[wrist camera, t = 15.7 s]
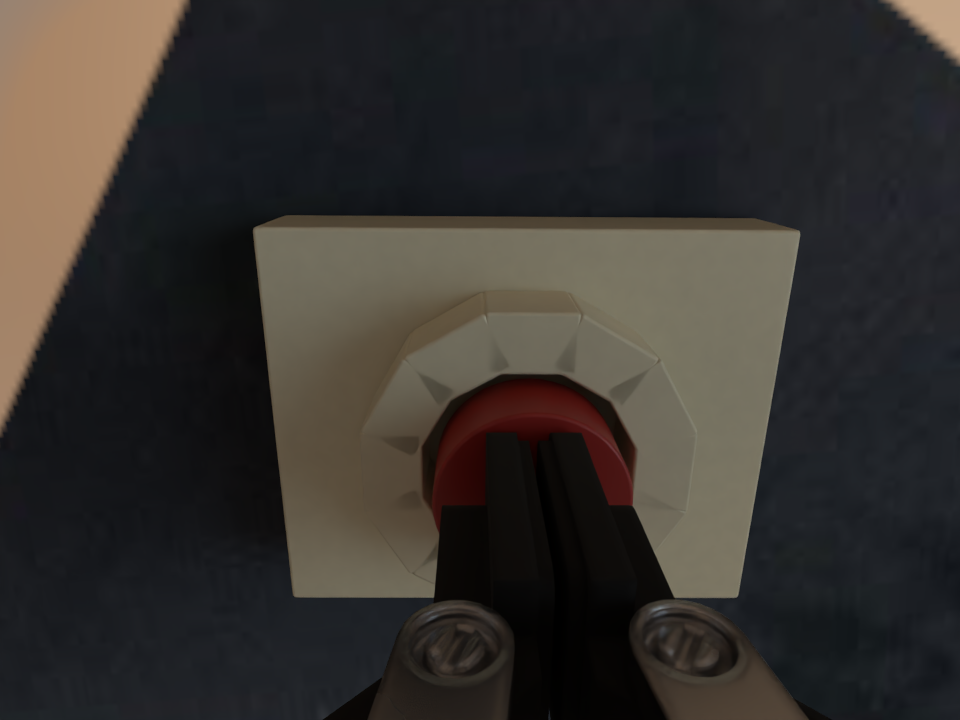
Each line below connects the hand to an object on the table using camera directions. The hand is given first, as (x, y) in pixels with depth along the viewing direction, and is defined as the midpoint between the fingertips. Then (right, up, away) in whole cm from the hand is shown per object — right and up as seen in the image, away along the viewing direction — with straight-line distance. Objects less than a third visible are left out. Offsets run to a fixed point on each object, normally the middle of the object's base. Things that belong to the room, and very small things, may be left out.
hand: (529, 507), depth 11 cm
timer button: (0, +1, +2) cm, 2 cm away
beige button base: (0, +2, +5) cm, 5 cm away
